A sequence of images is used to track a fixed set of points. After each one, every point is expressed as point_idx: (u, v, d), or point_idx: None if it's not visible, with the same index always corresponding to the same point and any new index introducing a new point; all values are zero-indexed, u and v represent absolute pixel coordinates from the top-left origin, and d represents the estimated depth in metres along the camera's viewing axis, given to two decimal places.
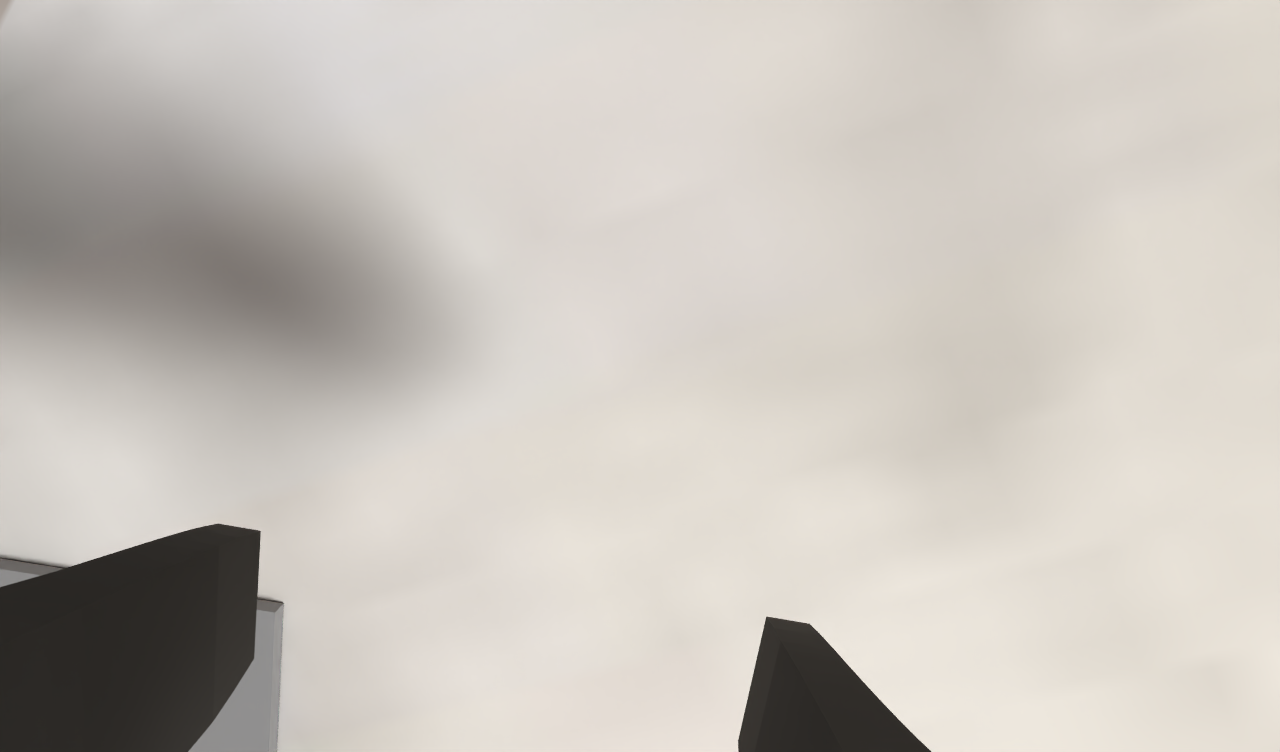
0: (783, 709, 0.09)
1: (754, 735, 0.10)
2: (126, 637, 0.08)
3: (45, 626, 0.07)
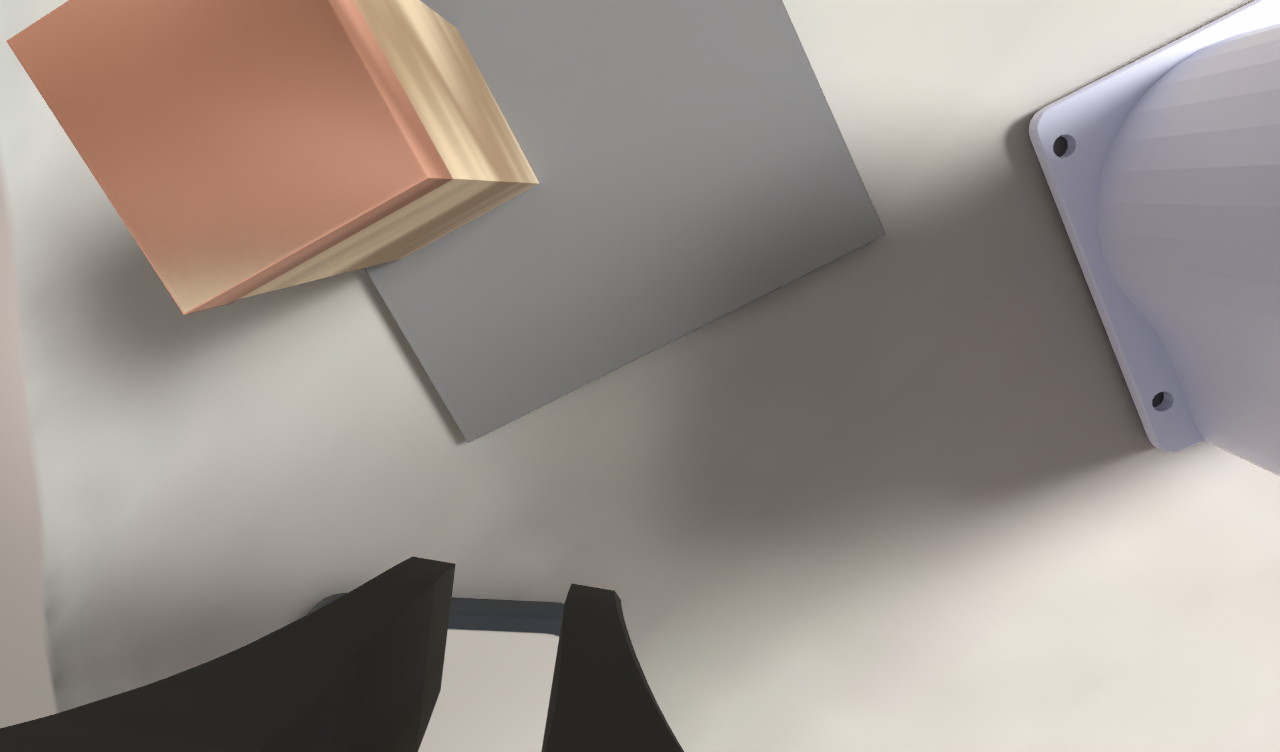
0: (555, 671, 0.09)
1: (549, 701, 0.10)
2: (378, 680, 0.08)
3: (336, 676, 0.07)
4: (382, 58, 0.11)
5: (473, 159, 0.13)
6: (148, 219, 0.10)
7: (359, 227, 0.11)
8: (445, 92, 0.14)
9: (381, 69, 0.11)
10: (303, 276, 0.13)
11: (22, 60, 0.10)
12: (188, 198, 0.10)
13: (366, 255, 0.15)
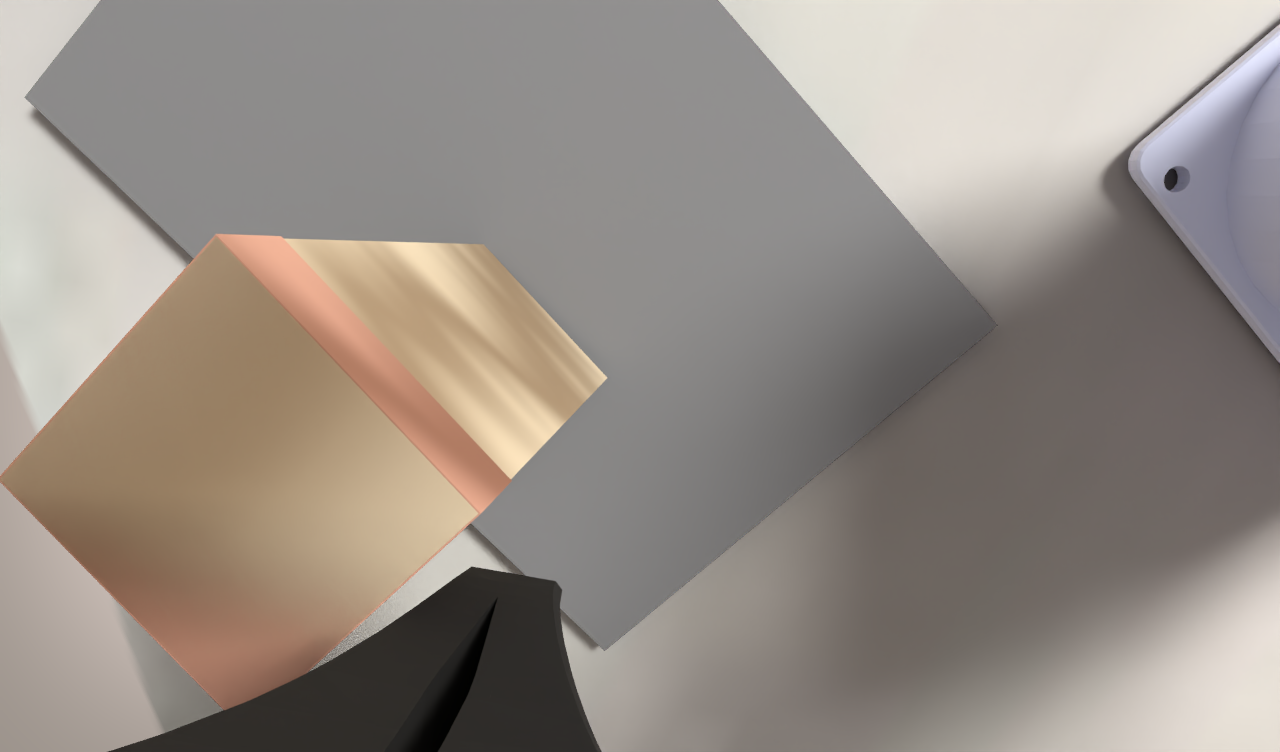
0: None
1: None
2: (454, 692, 0.08)
3: (424, 690, 0.07)
4: (399, 372, 0.09)
5: (530, 420, 0.11)
6: (182, 633, 0.09)
7: None
8: (483, 349, 0.12)
9: (400, 390, 0.09)
10: None
11: (18, 494, 0.09)
12: (219, 600, 0.09)
13: None
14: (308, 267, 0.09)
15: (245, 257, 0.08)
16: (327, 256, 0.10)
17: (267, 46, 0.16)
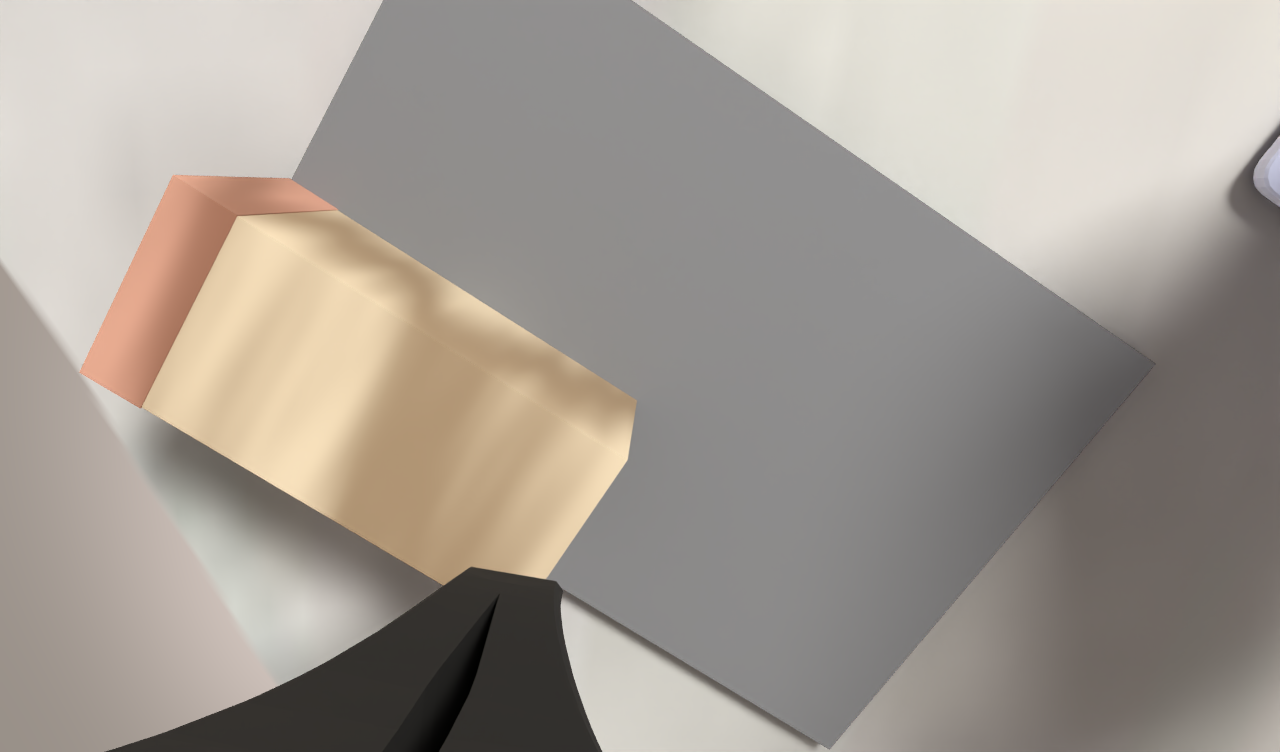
0: None
1: None
2: (453, 692, 0.08)
3: (423, 690, 0.07)
4: (279, 205, 0.15)
5: (353, 279, 0.14)
6: None
7: (183, 280, 0.13)
8: (411, 291, 0.15)
9: (258, 195, 0.14)
10: (229, 432, 0.14)
11: None
12: None
13: (330, 464, 0.14)
14: (326, 209, 0.16)
15: (287, 182, 0.16)
16: (359, 227, 0.17)
17: None
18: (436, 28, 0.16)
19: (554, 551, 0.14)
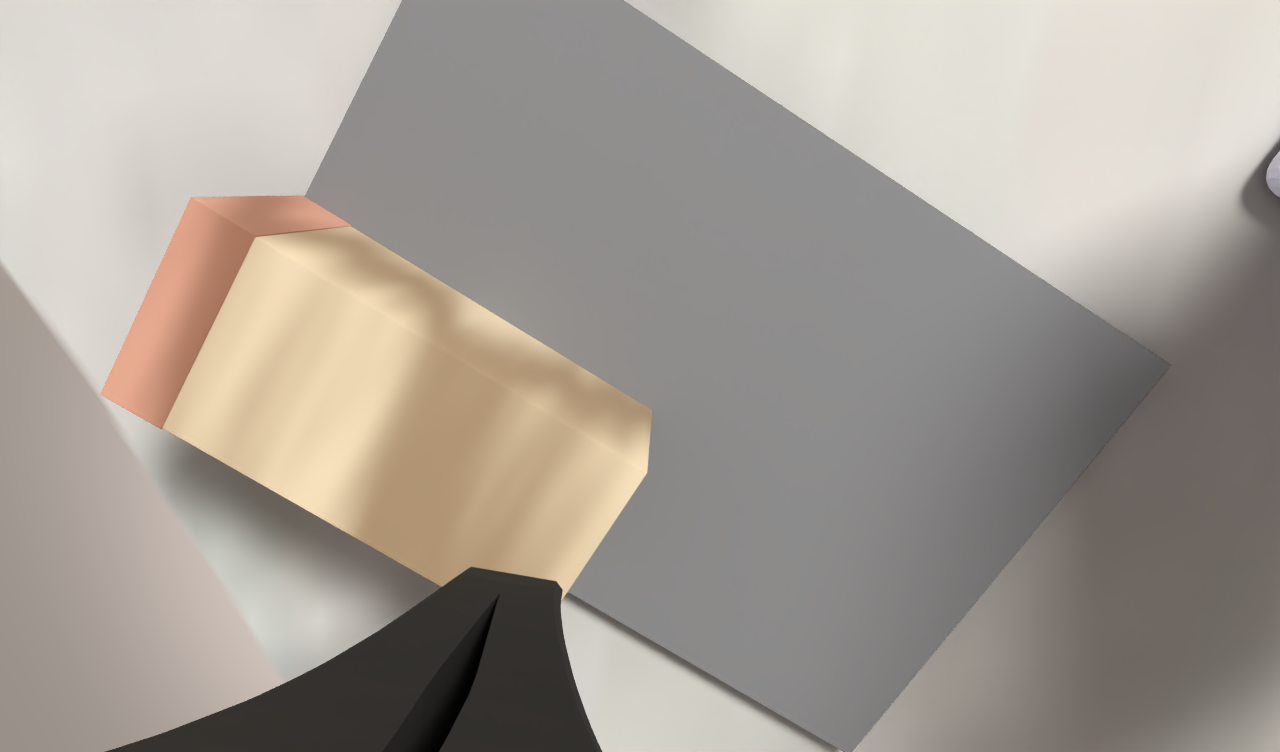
0: None
1: None
2: (453, 692, 0.08)
3: (423, 690, 0.07)
4: (295, 224, 0.15)
5: (371, 297, 0.14)
6: None
7: (202, 301, 0.13)
8: (427, 306, 0.15)
9: (274, 214, 0.14)
10: (250, 451, 0.14)
11: None
12: None
13: (351, 481, 0.14)
14: (340, 225, 0.16)
15: (301, 199, 0.16)
16: (373, 243, 0.17)
17: None
18: (447, 44, 0.16)
19: (575, 564, 0.14)
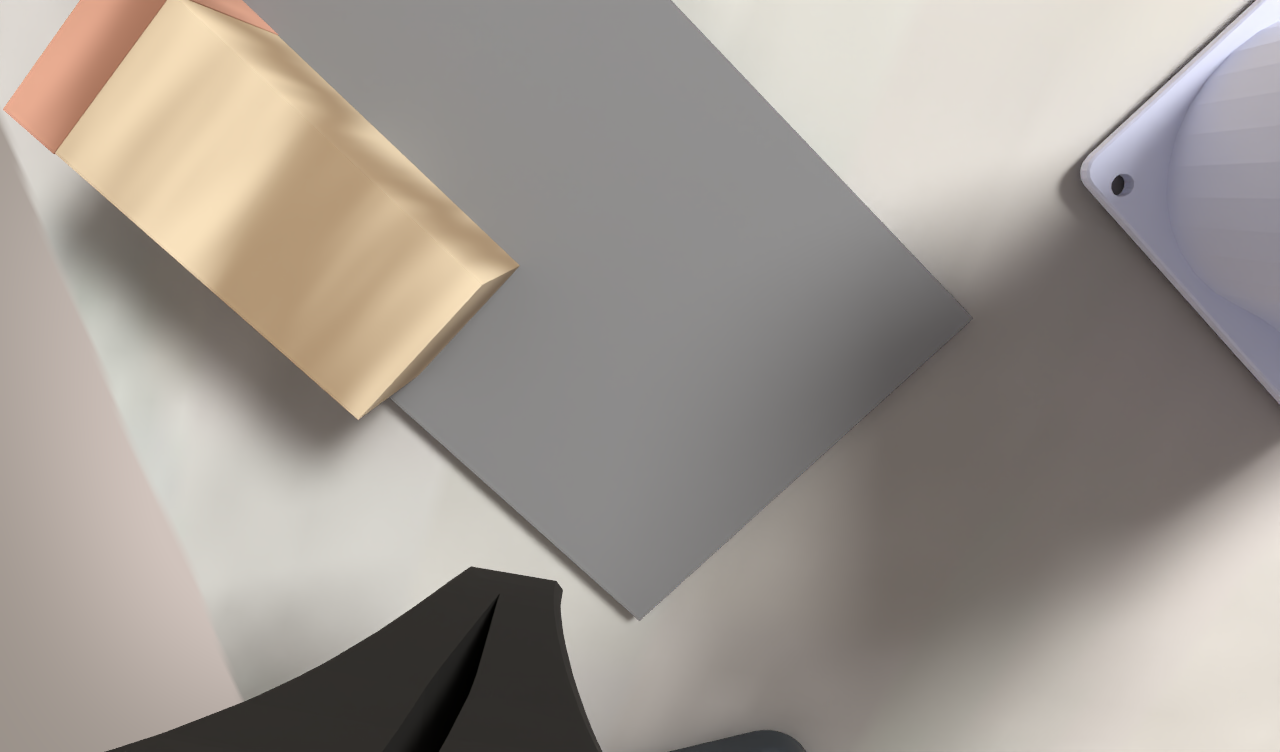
0: None
1: None
2: (453, 693, 0.08)
3: (423, 690, 0.07)
4: (218, 6, 0.16)
5: (268, 76, 0.15)
6: None
7: (113, 42, 0.15)
8: (324, 108, 0.16)
9: None
10: (132, 191, 0.15)
11: None
12: None
13: (218, 239, 0.15)
14: (266, 29, 0.18)
15: None
16: (293, 54, 0.18)
17: None
18: None
19: (405, 357, 0.16)
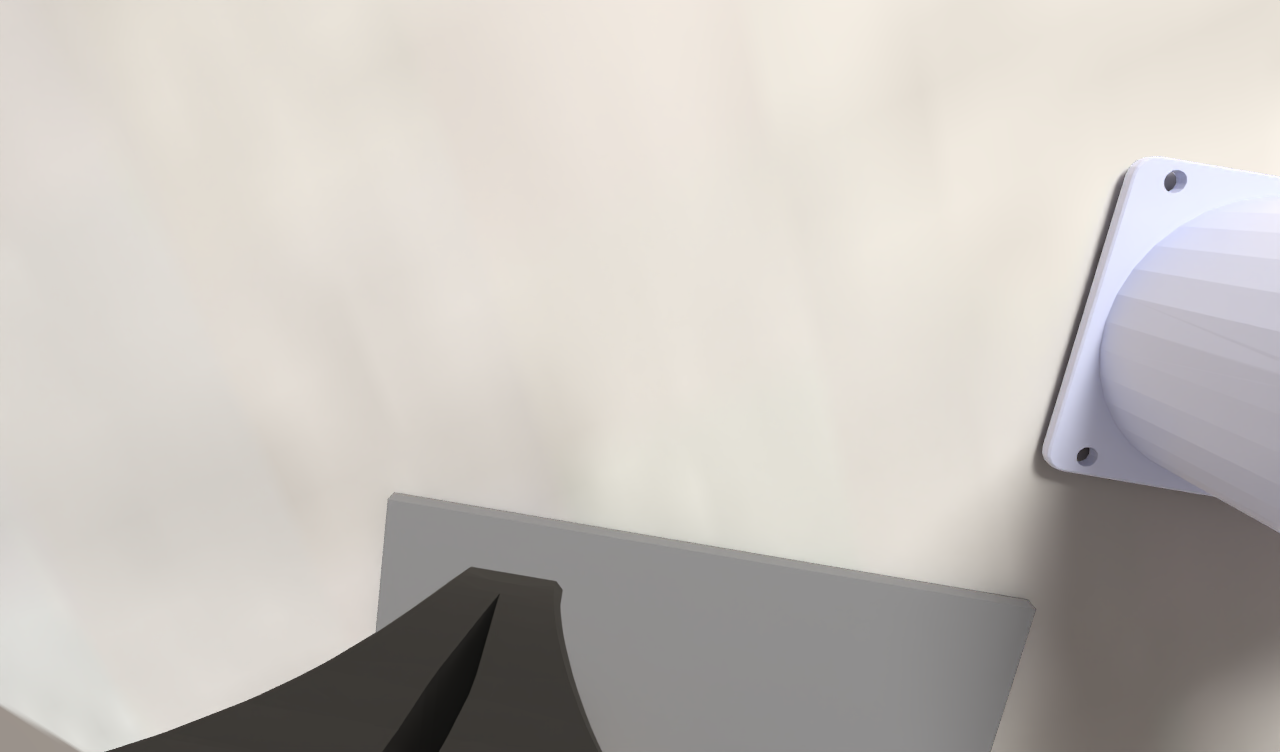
0: None
1: None
2: (453, 692, 0.08)
3: (423, 690, 0.07)
4: None
5: None
6: None
7: None
8: None
9: None
10: None
11: None
12: None
13: None
14: None
15: None
16: None
17: None
18: (421, 591, 0.22)
19: None
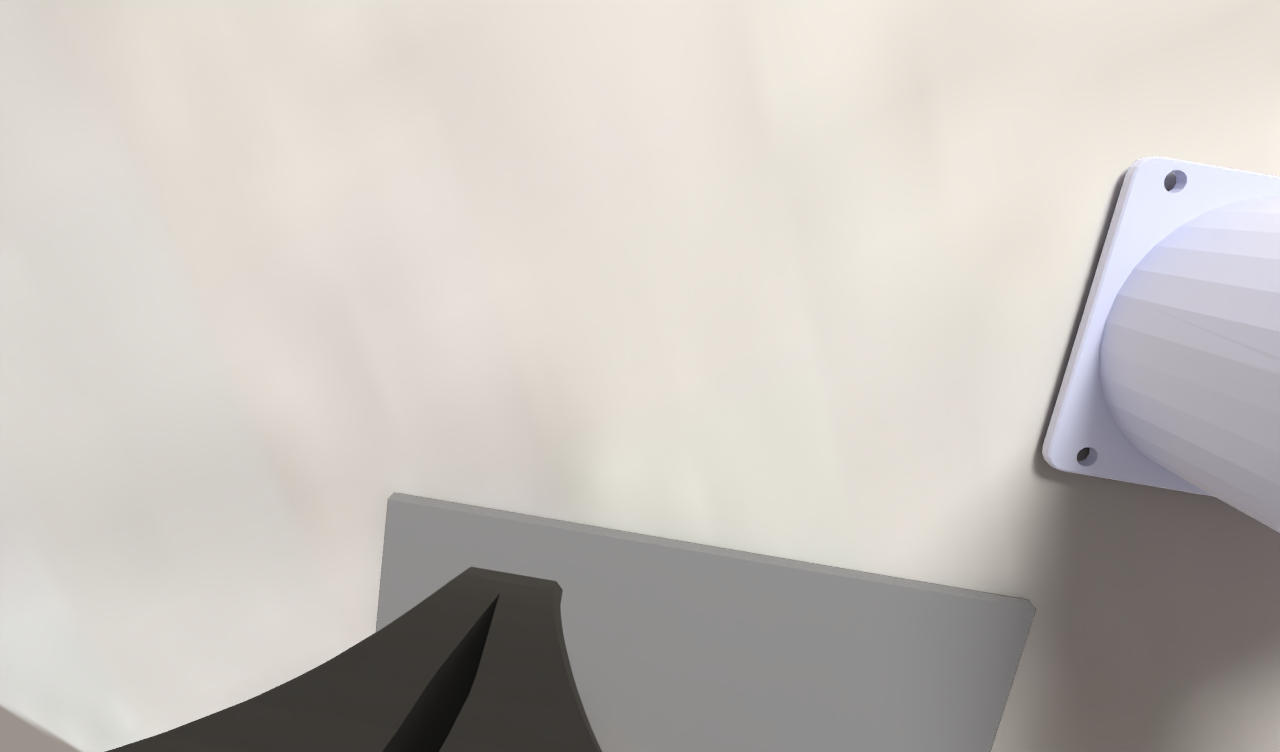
0: None
1: None
2: (453, 692, 0.08)
3: (423, 690, 0.07)
4: None
5: None
6: None
7: None
8: None
9: None
10: None
11: None
12: None
13: None
14: None
15: None
16: None
17: None
18: (421, 591, 0.22)
19: None
